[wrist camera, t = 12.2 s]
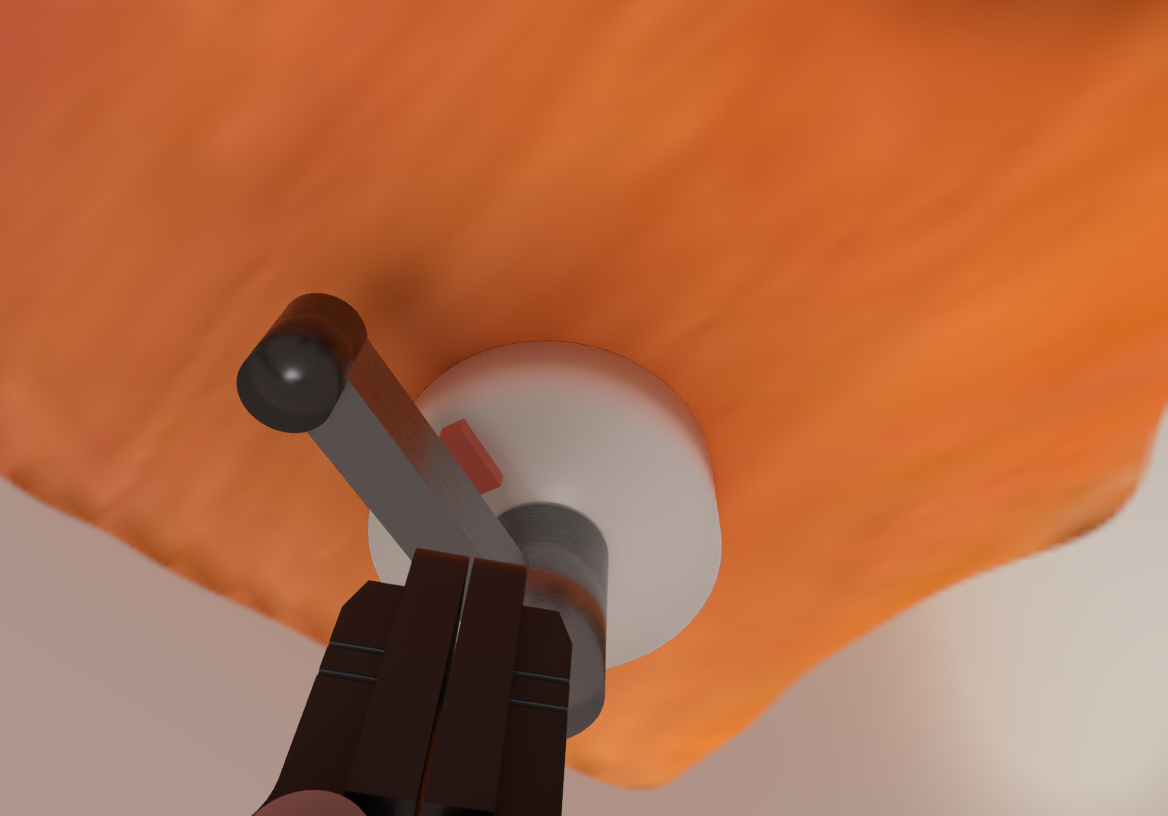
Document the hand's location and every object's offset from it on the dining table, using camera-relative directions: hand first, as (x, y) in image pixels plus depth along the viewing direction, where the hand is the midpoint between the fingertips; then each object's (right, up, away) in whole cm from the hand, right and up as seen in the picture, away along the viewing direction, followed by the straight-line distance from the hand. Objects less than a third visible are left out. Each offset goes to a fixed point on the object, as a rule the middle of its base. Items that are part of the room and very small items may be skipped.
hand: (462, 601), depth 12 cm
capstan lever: (-2, +1, +16) cm, 16 cm away
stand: (0, 0, +21) cm, 21 cm away
